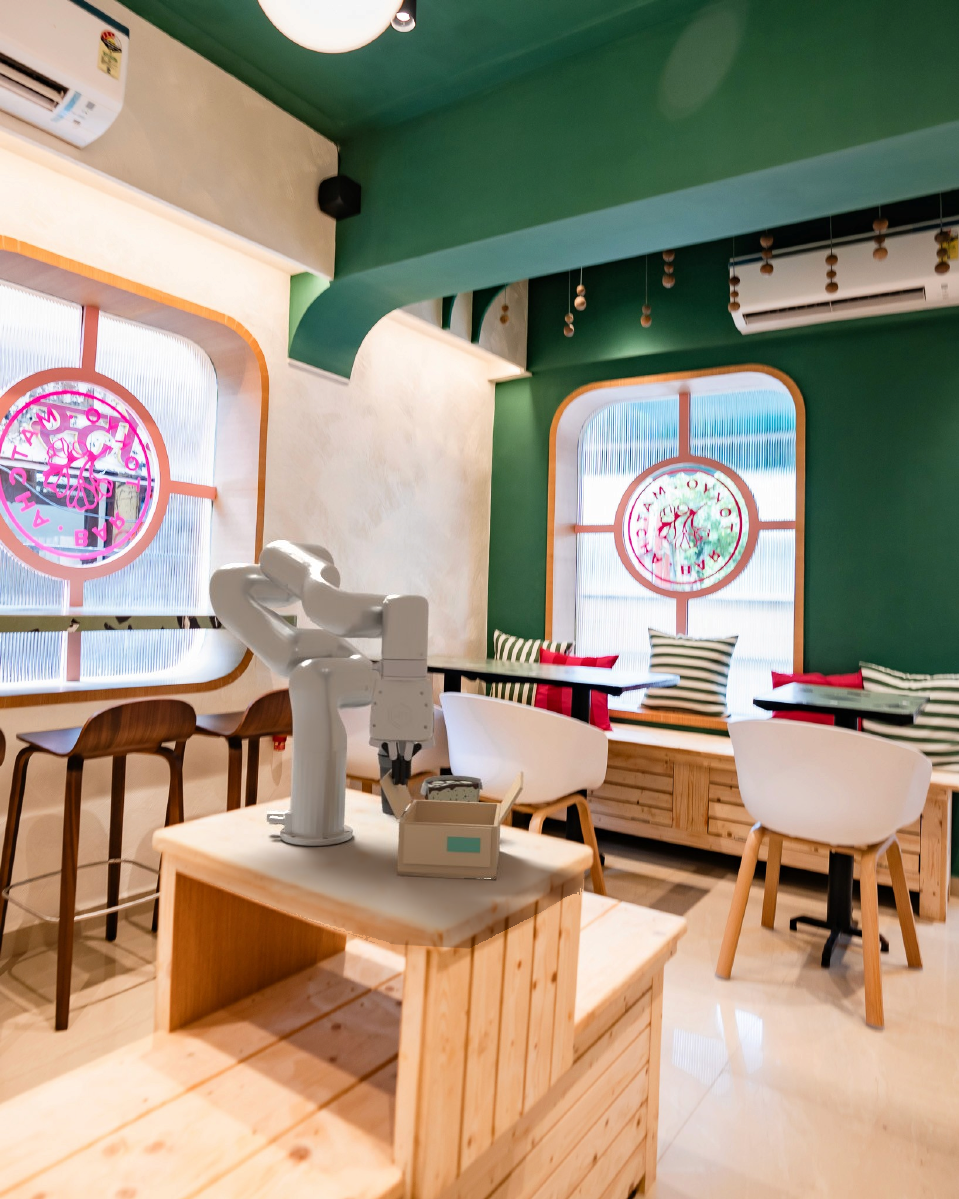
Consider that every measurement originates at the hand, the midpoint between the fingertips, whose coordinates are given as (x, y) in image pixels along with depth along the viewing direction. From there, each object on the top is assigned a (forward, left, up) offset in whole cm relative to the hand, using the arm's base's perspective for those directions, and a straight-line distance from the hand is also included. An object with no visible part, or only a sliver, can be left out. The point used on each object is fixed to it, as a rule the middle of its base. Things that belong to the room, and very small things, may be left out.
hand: (401, 783), depth 130 cm
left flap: (0, 0, -1) cm, 1 cm away
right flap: (+18, 0, -1) cm, 18 cm away
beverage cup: (-6, +33, -13) cm, 36 cm away
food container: (+6, +18, -13) cm, 23 cm away
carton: (+9, 0, -12) cm, 15 cm away
